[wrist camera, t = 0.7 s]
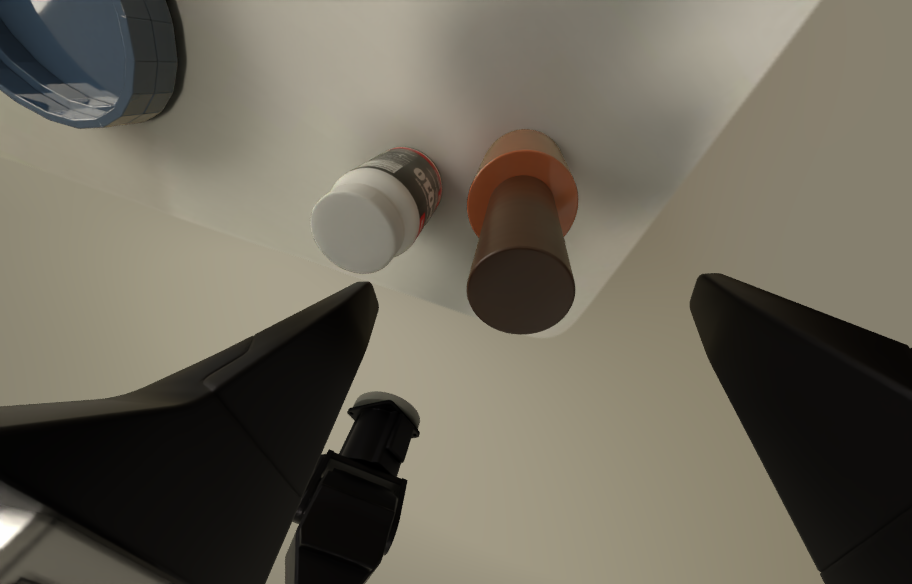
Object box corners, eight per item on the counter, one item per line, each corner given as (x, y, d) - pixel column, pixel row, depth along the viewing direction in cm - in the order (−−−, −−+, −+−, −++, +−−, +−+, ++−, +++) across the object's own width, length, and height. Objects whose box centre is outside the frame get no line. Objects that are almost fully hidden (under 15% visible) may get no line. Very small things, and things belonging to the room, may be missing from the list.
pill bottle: (445, 219, 22) (410, 285, 15) (380, 217, 23) (319, 279, 16) (441, 144, 19) (396, 184, 13) (367, 145, 20) (288, 182, 13)
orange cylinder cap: (499, 225, 22) (492, 270, 17) (466, 154, 19) (448, 181, 15) (575, 194, 20) (592, 235, 15) (548, 111, 18) (557, 126, 13)
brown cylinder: (503, 247, 16) (491, 344, 10) (477, 192, 15) (447, 269, 9) (563, 224, 15) (589, 320, 9) (541, 162, 13) (554, 229, 8)
